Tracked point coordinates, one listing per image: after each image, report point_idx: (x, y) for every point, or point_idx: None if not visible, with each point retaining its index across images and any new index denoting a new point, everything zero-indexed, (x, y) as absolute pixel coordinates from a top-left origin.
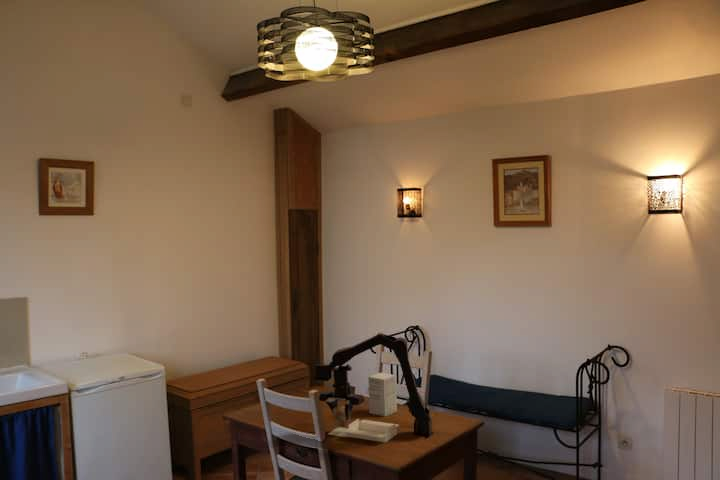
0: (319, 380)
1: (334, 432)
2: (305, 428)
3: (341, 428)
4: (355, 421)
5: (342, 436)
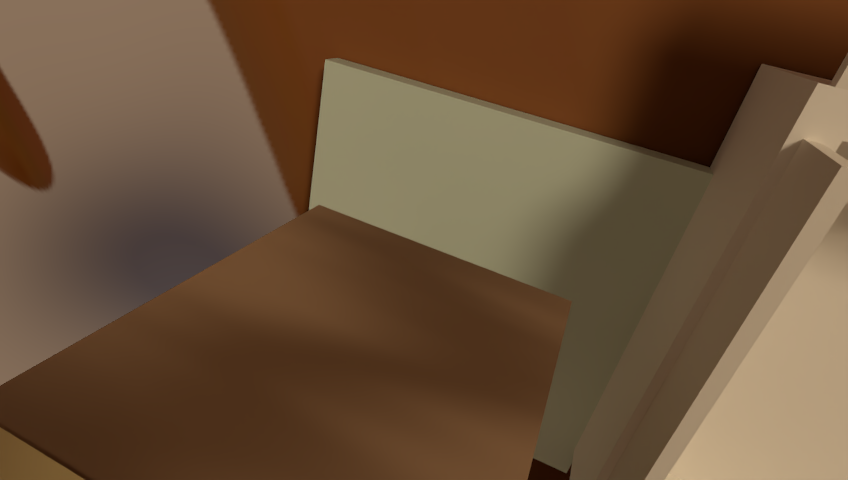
0: None
1: None
2: (5, 114)
3: (393, 115)
4: (724, 374)
5: None
